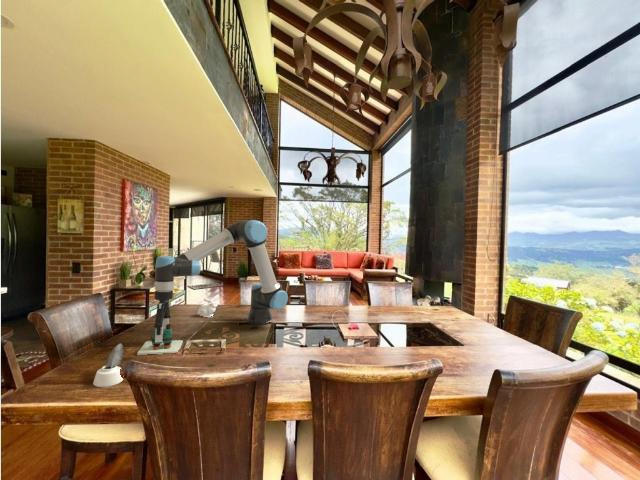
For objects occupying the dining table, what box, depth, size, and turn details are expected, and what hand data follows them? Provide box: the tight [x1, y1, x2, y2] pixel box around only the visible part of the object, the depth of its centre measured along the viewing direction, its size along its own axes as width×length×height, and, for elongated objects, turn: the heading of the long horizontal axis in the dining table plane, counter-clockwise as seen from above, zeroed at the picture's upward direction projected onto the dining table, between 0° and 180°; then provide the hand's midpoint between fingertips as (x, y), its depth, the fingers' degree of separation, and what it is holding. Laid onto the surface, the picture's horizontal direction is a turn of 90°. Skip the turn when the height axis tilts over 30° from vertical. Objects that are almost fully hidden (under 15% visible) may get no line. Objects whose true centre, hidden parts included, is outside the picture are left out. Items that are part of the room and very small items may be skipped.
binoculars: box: [150, 323, 173, 350], centre depth 150 cm, size 9×11×10 cm
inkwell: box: [92, 343, 124, 388], centre depth 121 cm, size 9×18×10 cm, turn 18°
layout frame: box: [183, 338, 227, 350], centre depth 155 cm, size 18×17×1 cm
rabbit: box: [197, 297, 218, 318], centre depth 207 cm, size 12×9×12 cm
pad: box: [136, 339, 184, 356], centre depth 150 cm, size 16×15×1 cm
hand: (161, 337), depth 150 cm, fingers open, 13 cm apart
